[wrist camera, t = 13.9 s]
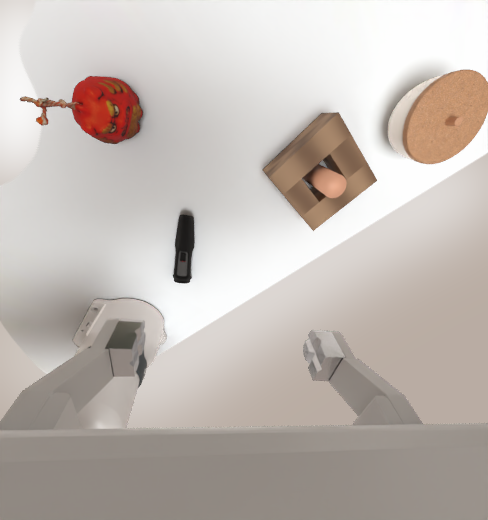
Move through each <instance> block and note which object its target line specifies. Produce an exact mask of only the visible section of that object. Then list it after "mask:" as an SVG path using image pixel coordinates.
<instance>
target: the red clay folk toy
mask: <svg viewBox="0 0 488 520" xmlns="http://www.w3.org/2000/svg"><path fill="white" fill-rule="evenodd" d="M20 100H21V101H27V102H32V103H34V104H35V105H36V106H37V107H41V108H42V109H43V113H42V115H41V117H38V118H37V119H36V121H37V122H38V123H39V124H41V125H42V126H43V125H47V124H48V119H47V118H46V111H47V110H46V107H52V106H61V107H62V108H65V107H66V106H67V107H69V108H71V109H72V112H73V115H74V119H75V121H76V122H77V123H78V124H79V125H80V126H81V128H82V129H83V130H84V131H85V132H86V133H88V134H89V135H91V136H92V137H94V138H96V139H98V140H100V141H102V142H104V143H112V144H117V143H118V142H121V141H123V140H125V139H129V138H132V137H133V136H134V135H135V134H136V133H138V132H139V130H140V125H139V123H138V121H139V120H140V119H141V117H142V114H143V112H142V109H141V108H140V106H139V98H138V96H137V95H136V94H135V93H134V92H133V91H132V90H131V88H130V87H129V86H128V85H127V84H126V83H125V82H123V81H121V80H119V79H116V78H111V77H97V76H95V77H92V76H90V77H87V78H86V79H85V80H84V81H81V82H79V83H78V84H77V85H76V87H75V88H74V92H73V98H72V103H66V102H65V101H64V100H62V99H60V100H59V102H55V101H51V100H49V99H48V98H46V99H40V98H39V99H38V100H35V99H33V98H29V97H22V98H20Z"/></svg>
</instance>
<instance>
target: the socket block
mask: <svg viewBox="0 0 488 520" xmlns="http://www.w3.org/2000/svg"><path fill="white" fill-rule="evenodd" d="M322 160H323V161H324V163H325V164H326V166H327V167H328V169H330V170H332V171H334V172H336V173H338V174H340V175H342V176H344V177H345V179H346V182H347V185H346V189H345V191H344V192H343V193H342V194H341V195H340V196H339V197H336V198H329V197H327V196H326V195H324V194H323V193H322V192H320V191H319V190H318V189H316V188H315V187H312V188H311V189H309V188H308V186H307V185H306V184H305V183H304V181H303V180H302V178H303V177H304V176H305V175H306V174H307V173H308V172H310V171H311V170H312V169H313V168H314V167H315V166H316V165H317V164H319V163H320V162H321V161H322ZM263 171H264V172H265V174H266V175H267V176H268V177H269V179H270V180H271V181H272V182H273V183H274V185H275V186H276V187H277V188H278V189H279V190H280V192H281V193H282V194H283V195H284V196H285V198H286V199H287V200H288V201H289V202H290V204H291V205H292V206H293V207H294V208H295V210H296V211H297V212H298V213H299V214H300V216H301V217H302V218H303V219H304V220H305V222H306V223H307V224H308V225H309V226H310V228H311V229H312V230H313V231H314V230H315V229H316V228H317V227H319V226H320V225H321V224H323V223H324V222H325V221H326V220H328V219H329V218H330V217H331V216H333V215H334V214H335V213H336V212H338V211H339V210H340V209H342V208H343V207H344V206H345V205H347V204H348V203H349V202H350V201H352V200H353V199H354V198H356V197H357V196H358V195H359V194H361V193H362V192H363V191H364V190H366V189H367V188H368V187H370V186H371V185H372V184H373V183H375V182H376V181H377V179H376V178H375V176H374V174H373V172H372V170H371V169H370V167H369V165H368V163H367V162H366V160H365V158H364V156H363V155H362V153H361V151H360V149H359V148H358V146H357V144H356V142H355V141H354V139H353V137H352V135H351V133H350V132H349V130H348V128H347V126H346V125H345V123H344V121H343V119H342V118H341V116H340V114H339V113H321V114H320V115H319V116H318V117H317V118H316V119H315V120H314V121H313V122H312V123H311V124H310V125H309V126H308V127H307V128H306V129H305V130H304V131H303V132H302V133H301V134H299V135H298V136H297V137H296V138H295V139H294V140H293V141H292V142H291V143H290V144H289V145H288V146H287V147H286V148H285V149H284V150H283V151H282V152H281V153H280V154H279V155H278V156H277V157H276V158H274V159H273V160H272V161H271V162H270V163H269V164H268V165H267V166H266V167H265V168H264V169H263Z"/></svg>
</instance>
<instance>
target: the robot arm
mask: <svg viewBox="0 0 488 520" xmlns="http://www.w3.org/2000/svg"><path fill="white" fill-rule="evenodd" d="M308 336H309V339H308V340H306V341H305V344H304V347H303V352H304V357H305V360H306V361H307V362H308V363H309V364H310V365H309V367H308V368H309V371H310V374H311V377H312V380H316V381H317V380H318V381H329V383H330V384H331V385H332V386H333V388H334V389H335V390H336V391H337V392H338V393H339V395H340V396H341V397H342V398H343V399H344V400H345V401H346V402H347V404H348V405H349V406H350V407H351V408H352V409H353V411H354V412H355V413H356V414H357V415H358V416H359V417H358V418H357V419H356V420H355V421H354V423H353V425H340V426H339V425H338V426H271V427H270V426H269V427H268V426H267V427H266V426H263V427H196V428H195V427H194V428H126V427H127V423H128V420H129V416H130V413H131V409H132V406H133V403H134V399H135V396H136V392H137V389H138V387H139V386H140V385H141V383H142V380H143V379H144V376H145V373H146V368H147V367H149V366H150V365H152V364H153V362H154V359H155V357H156V354H157V351H158V348H159V345H161V344H163V343H164V342H165V341H166V339H167V336H166V334H165V332H164V320H163V317H162V315H161V314H160V312H159V311H158V310H157V309H156V308H154V307H153V306H152V305H150V304H148V303H146V302H143V301H140V300H136V299H129V298H123V299H116V300H104V299H96V300H94V301H93V302H92V304H91V306H90V308H89V310H88V312H87V314H86V315H85V317H84V319H83V321H82V323H81V325H80V327H79V329H78V330H77V332H76V334H75V336H74V338H73V342H74V343H75V344H76V345H77V346H78V347H79V349H78V350H77V352H76V354H75V355H74V357H72V358H71V359H69V360H68V361H66V362H65V363H63V364H62V365H60V366H59V367H57V368H56V369H54V370H53V371H51V372H50V373H48V374H47V375H46V376H44V377H42V378H41V379H39V380H38V381H37V382H35V383H33V384H32V385H31V386H29V387H28V388H26V389H25V390H23V391H22V392H21V394H20V395H19V397H18V398H17V399H16V400H15V402H14V403H13V405H12V406H11V407H10V409H9V410H8V411H7V413H6V414H5V416H4V417H3V418H2V420H1V421H0V520H488V423H481V424H423V423H422V421H421V420H420V419H419V417H418V415H417V414H416V412H415V411H414V409H413V408H412V406H411V405H410V403H409V402H408V400H407V399H406V397H405V396H404V395H403V394H402V393H401V392H399V391H398V390H397V389H396V388H394V387H393V386H392V385H390V384H389V383H388V382H387V381H386V380H384V379H383V378H382V377H381V376H379V375H378V374H377V373H375V372H374V371H373V370H372V369H371V368H369V367H368V366H367V365H366V364H364V363H363V362H362V361H361V360H359V359H356V358H355V356H354V355H353V353H352V351H351V350H350V348H349V346H348V344H347V342H346V341H345V339H344V337H343V335H342V334H341V333H340V332H338V331H318V330H311V331H310V332H309V334H308Z"/></svg>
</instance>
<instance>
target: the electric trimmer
mask: <svg viewBox="0 0 488 520" xmlns="http://www.w3.org/2000/svg"><path fill="white" fill-rule="evenodd" d="M175 247H176V257H175V268H174V275H173V277H174V281H175V282H177V283H189V282H190V279H191V278H192V277H191V276H190V273H191V257H192V251H193V249H194V218H193V217H192V216H187V215H180V217H179V222H178V228H177V234H176V241H175Z"/></svg>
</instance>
